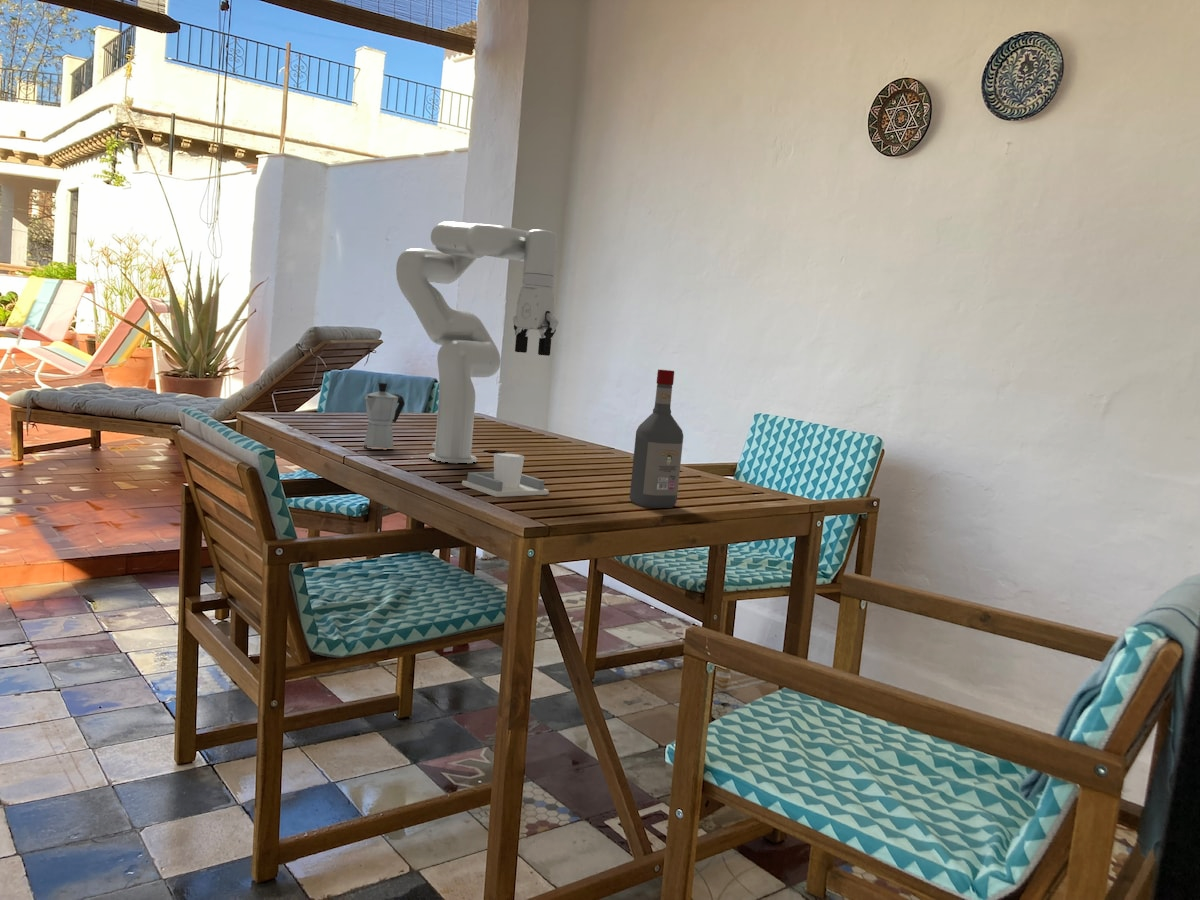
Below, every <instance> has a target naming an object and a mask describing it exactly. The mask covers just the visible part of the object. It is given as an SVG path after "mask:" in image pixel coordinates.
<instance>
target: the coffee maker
mask: <svg viewBox="0 0 1200 900" xmlns="http://www.w3.org/2000/svg"><path fill="white" fill-rule="evenodd" d="M387 387H388V383H385V382H378V391H375V392H370V393H367V394H365V395H364V396H365V397H364V398H363V399H364V400H365V407H366V408H365V409H366V418H367V419H368V423H367V430H366V433H365V437H364V442H363V446H364V445H367V446H371V447H383V448H388V447H394V437H393V434H394V433H393V423H396V422H397V421H398V418H399V416H400V415H401V413H402V410H403V408H404V406H405V400H404V398H403V396H401V395H400V394H396V393H395V394H394V393H391V392H390V393H389V392H387V391H386V390H387Z"/></svg>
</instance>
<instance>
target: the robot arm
mask: <svg viewBox="0 0 1200 900" xmlns="http://www.w3.org/2000/svg"><path fill="white" fill-rule="evenodd" d="M430 240H431V243H432V245H433V246H432V247H434V248H435V249H436V250H434V249H426V248H419V247H418V248H417V247H416V248H408V249H406V250H404V251H402V253H400V254H399V256H398V258H397V262H396V266H395V267H396V268H395V269H396V270H395V272H396V275H395V276H396V281H397V285H398V287H399V289H400V291H401V293H402V294H403V296H404V298H406V300H407V302H408V303H409V304H410V306H411V307H412V309H413V311H414V312H415V315H416V316H417V319H418V321H420V323H421V325H422V327H423V329H424V330H425V332H426V334H427V336H428V337H429V339H430V340H431V341H432V342H433V344H436V345H439V346H440V348H439V350H438V351H437V356H436V357H437V361H436V362H437V369H438V380H439V381H438V403H437V417H436V430H435V431H436V432H435V441H434V442H433V443H431V448H433V449H434V450H433V451H434V452H432V453H431V452H430V453H429V454H428V457H429V458H430V459H432V460H431V461H433V460H436V461H435V462H438V461H441V462H440V463H445V462H448V463H447V464H458V463H467V464H474V463H473V462H475V463H477V462H478V461H477V460H478V457H476V456H475V455H472V449H473V433H474V421H475V420H474V419H475V411H476V409H475V408H476V391H475V390H476V389H475V387H474V383H473V381H472V378H489V377H492V376H494V375H495V374H497V372H498V371H499V369H500V367H501V366H500V365H501V355H500V353H499V351H500V350H499V349H498V347H497V346H496V343H495V342H494V340H493V339H492V337H491V335H490V333H489V332H488V330H487V328H486V327H485V325H484V323H483V321H482V320H481V319H480V318H479V317H478V316H477V315H476V314H474V313H471V312H468V311H462V310H455V309H453V308H452V307H451V306H449V305H448V303H447V301H446V299H445V298H444V296H443V294H442V293H441V292H440V291H439V290H438V289H437V288H436V287H434V286H433V285H432V284H431V283H434V284H435V283H436V284H442V285H443V284H445V285H446V284H447V285H448V284H451V283H454V282H455V281H457V280H458V279H459V278H460V277H461V276H462V275H463V274H464V272H466V270H468V268H470V266H471V265H472V264H473V263H474V262H475V261H476V260H477V259H479V258H482V257H485V256H486V257H494V258H500V259H506V260H511V261H512V260H513V261H516V262H523V269H522V272H523V273H522V283H521V285H522V286H521V287H520V289H519V293H518V296H517V303H516V309H515V316H513V317H512V322H513V330H514V335H515V346H514V352H515V353H525V354H526V353H527V352H528V341H529V336H527V335H528V333H529V331H530V330H534V331H535V330H536V331H538V332H539V336H540V337H539V338H538V339H539V340H538V349H537V354H538V356H549V357H550V356H551V350H552V349H551V346H552V340H553V338H554V335H555V333H556V330H557V327H558V325H559V320H558V319H557V318H556V317H555V315H554V311H555V300H554V299H555V297H554V296H555V295H554V294H555V293H554V283H555V271H556V270H555V269H556V261H557V260H556V258H557V249H558V236H557V233H555V232H554V231H550V230H548V229H547V230H546V229H530V230H524V229H519V228H515V227H510V226H506V225H497V224H486V223H471V222H461V221H452V220H451V221H442V222H439V223H437V224H436V225H435V226H434V227H433V228H432V229H431V232H430ZM429 458H428V459H429ZM430 459H429V460H430Z"/></svg>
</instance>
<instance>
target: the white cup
mask: <svg viewBox="0 0 1200 900" xmlns="http://www.w3.org/2000/svg"><path fill="white" fill-rule="evenodd" d="M524 461H525V456H524V455H521V454H518V453H512V452H510V453H509V452H495V453H493V472H494V479H495V480H498V481H501V482H503V485H502V487H504V488H517V487H519V485H520V479H521V474H523V473H522V472H523V467H524Z"/></svg>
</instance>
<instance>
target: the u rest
mask: <svg viewBox="0 0 1200 900" xmlns="http://www.w3.org/2000/svg"><path fill="white" fill-rule="evenodd" d="M466 477H467V478H466V479H467V480H462V481H461V486H464V487H467V488H469V489H473V490H475V491H478V492H481V493H484V494H487V495H490V496H492V497H495V498H498V497H499V498H500V497H518V496H519V497H520V496H521V497H523V496H541V495H542V496H545V495H549V493H550V490H549V489H547V488H545V480H543V479H540V478H536V477H534V476H531V475H527V474H524V473H522V474H521V479H520V485H519V487H517V488H504V487H502V485H503V482H501V481H498V480H495V479H494V471H478V472H477V471H476V472H475V471H474V472H472V471H471V472H470V471H469V472H467V476H466Z"/></svg>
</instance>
